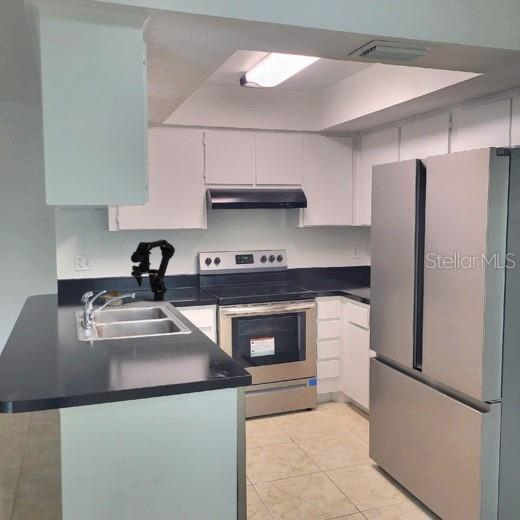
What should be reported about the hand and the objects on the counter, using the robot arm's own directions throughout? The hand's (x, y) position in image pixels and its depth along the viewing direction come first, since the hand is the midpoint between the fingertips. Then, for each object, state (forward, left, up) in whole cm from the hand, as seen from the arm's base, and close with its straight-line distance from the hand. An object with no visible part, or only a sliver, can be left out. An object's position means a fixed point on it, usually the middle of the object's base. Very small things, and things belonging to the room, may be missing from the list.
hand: (145, 285), depth 330 cm
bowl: (+13, -15, -12) cm, 23 cm away
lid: (+13, -15, -7) cm, 21 cm away
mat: (+3, -1, -12) cm, 12 cm away
